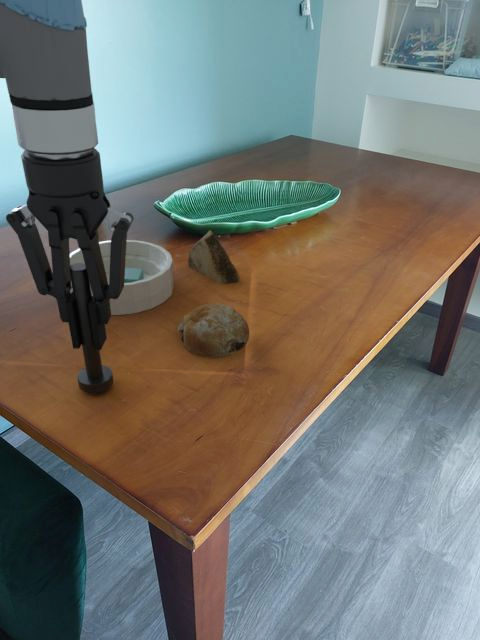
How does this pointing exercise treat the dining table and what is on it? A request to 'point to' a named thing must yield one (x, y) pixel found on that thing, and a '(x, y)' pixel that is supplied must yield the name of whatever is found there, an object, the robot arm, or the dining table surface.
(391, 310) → the dining table surface
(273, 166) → the dining table surface
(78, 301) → the stirrer
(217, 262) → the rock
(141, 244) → the bowl
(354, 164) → the dining table surface
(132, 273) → the block
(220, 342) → the bread roll
